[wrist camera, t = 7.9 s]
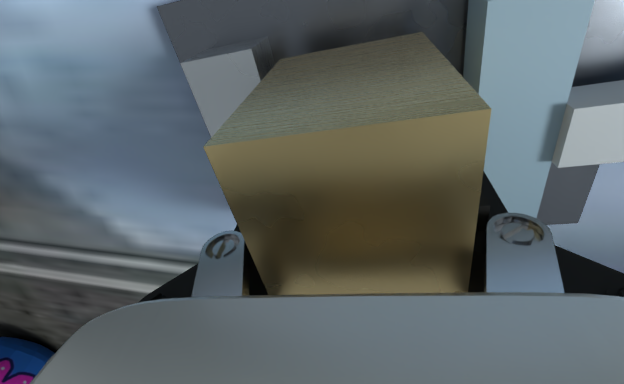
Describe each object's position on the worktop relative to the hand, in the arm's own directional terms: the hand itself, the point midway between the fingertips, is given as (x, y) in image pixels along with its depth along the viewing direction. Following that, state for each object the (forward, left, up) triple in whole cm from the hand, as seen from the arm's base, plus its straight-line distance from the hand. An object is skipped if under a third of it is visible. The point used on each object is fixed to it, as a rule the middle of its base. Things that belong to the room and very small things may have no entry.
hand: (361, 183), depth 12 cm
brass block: (0, 0, -2) cm, 2 cm away
